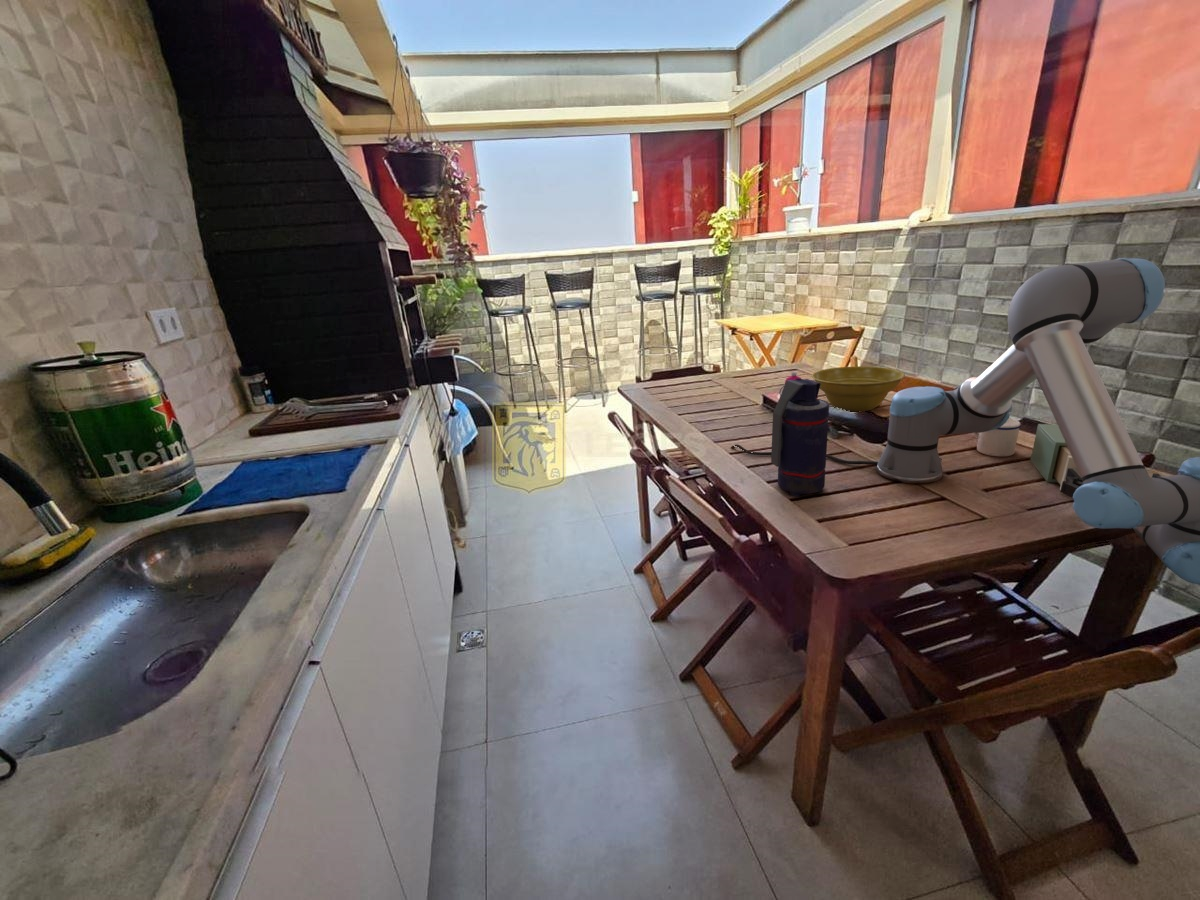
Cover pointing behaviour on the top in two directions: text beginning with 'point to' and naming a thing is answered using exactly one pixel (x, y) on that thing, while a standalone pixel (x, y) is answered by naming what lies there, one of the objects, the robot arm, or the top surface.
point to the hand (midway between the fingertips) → (1110, 476)
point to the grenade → (800, 437)
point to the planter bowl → (857, 386)
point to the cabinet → (1047, 449)
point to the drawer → (1063, 464)
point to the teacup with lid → (999, 439)
